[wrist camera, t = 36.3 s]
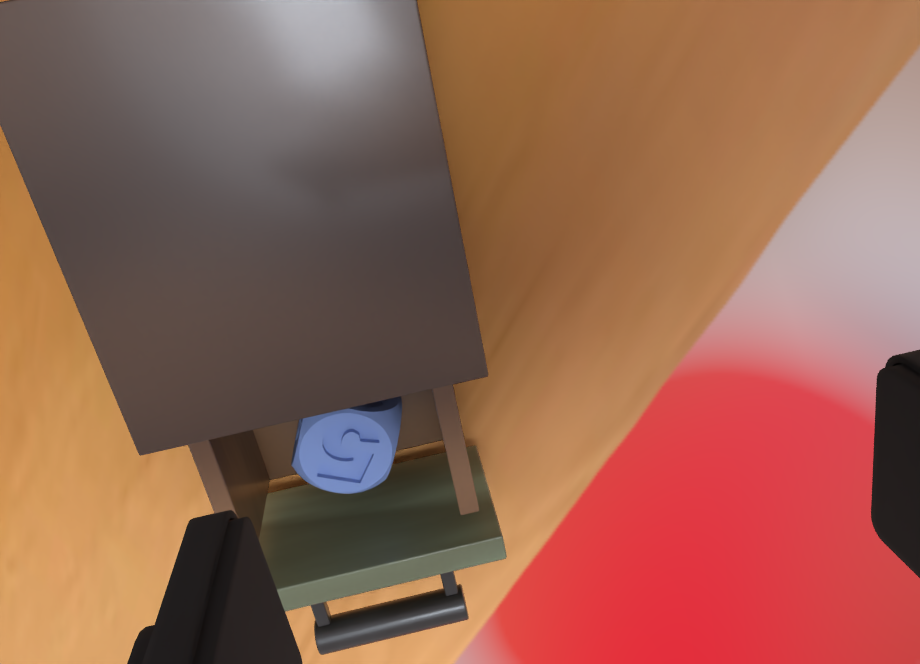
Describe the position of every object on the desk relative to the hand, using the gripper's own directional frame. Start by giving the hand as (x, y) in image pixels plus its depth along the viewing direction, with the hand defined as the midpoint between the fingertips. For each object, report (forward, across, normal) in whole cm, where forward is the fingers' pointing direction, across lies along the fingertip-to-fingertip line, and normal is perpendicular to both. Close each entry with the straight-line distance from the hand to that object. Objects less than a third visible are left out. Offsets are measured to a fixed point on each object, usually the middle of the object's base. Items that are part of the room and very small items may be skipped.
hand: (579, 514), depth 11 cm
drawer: (+23, +6, +10) cm, 26 cm away
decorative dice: (+22, +6, +9) cm, 25 cm away
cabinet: (+24, +6, -2) cm, 25 cm away
